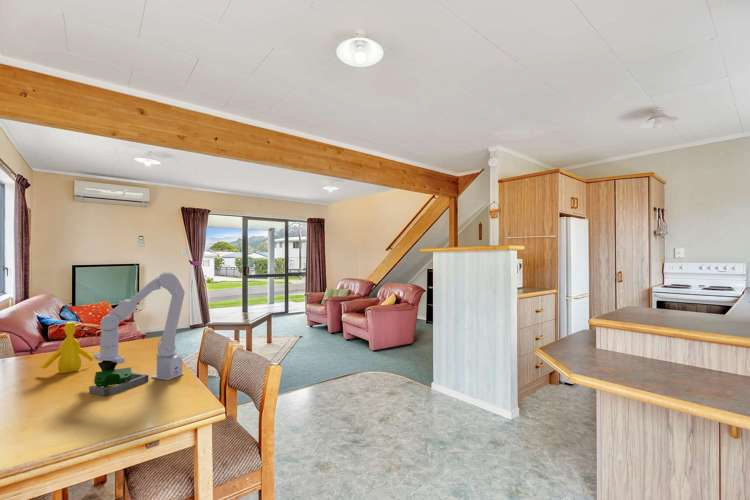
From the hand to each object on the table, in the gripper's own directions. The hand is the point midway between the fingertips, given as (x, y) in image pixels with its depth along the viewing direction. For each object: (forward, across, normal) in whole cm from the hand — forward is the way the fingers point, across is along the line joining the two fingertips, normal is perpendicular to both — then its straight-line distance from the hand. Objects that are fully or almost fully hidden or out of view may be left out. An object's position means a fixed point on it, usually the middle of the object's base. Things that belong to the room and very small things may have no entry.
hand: (108, 379), depth 138 cm
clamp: (+2, +4, -1) cm, 5 cm away
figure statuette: (+3, -32, +5) cm, 33 cm away
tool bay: (+2, +7, 0) cm, 7 cm away
